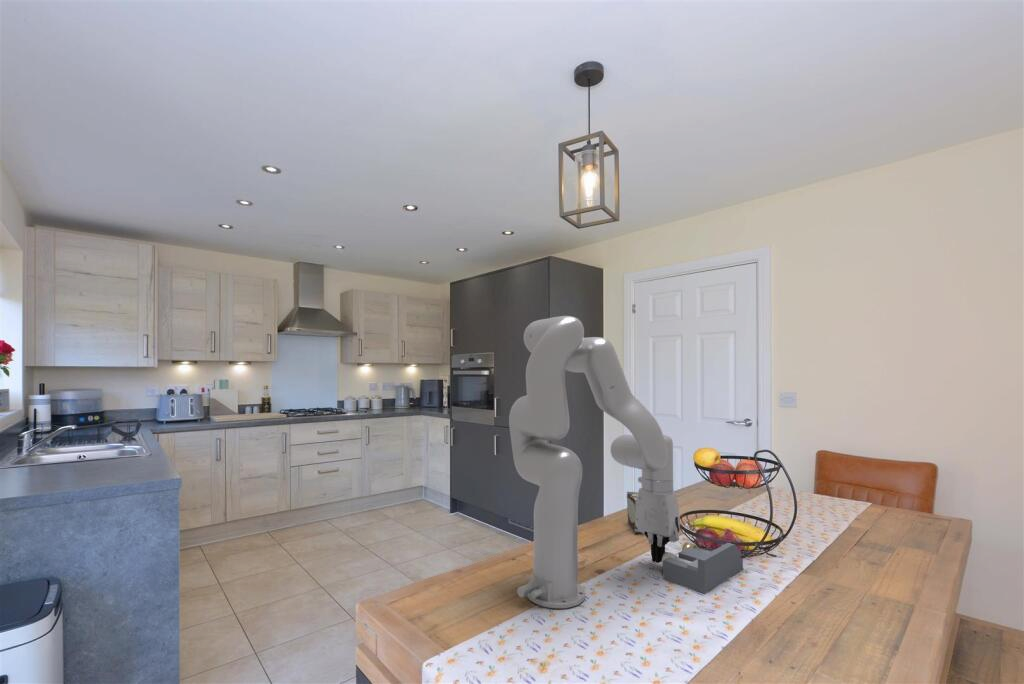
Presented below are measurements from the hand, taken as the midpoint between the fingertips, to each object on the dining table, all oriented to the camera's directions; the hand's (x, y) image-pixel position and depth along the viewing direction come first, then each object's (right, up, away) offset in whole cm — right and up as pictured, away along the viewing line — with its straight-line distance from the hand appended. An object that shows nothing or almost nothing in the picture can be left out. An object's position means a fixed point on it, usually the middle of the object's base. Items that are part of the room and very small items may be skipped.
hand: (658, 560), depth 118 cm
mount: (+10, -2, -4) cm, 11 cm away
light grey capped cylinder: (+5, -1, -5) cm, 7 cm away
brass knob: (+12, -1, +1) cm, 12 cm away
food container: (+4, -4, +28) cm, 29 cm away
